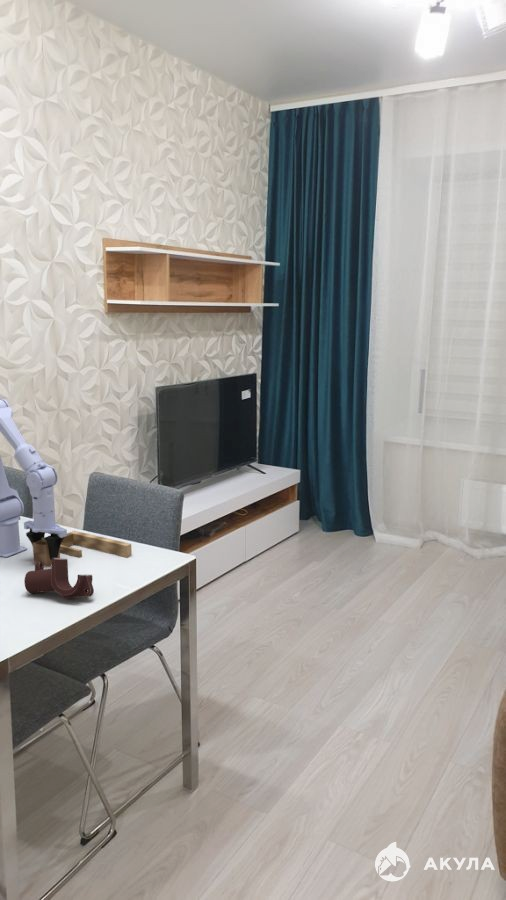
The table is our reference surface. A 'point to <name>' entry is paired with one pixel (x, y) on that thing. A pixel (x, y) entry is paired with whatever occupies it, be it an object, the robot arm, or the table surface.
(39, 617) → the table surface
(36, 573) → the bracket
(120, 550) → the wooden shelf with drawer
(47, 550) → the cabinet
